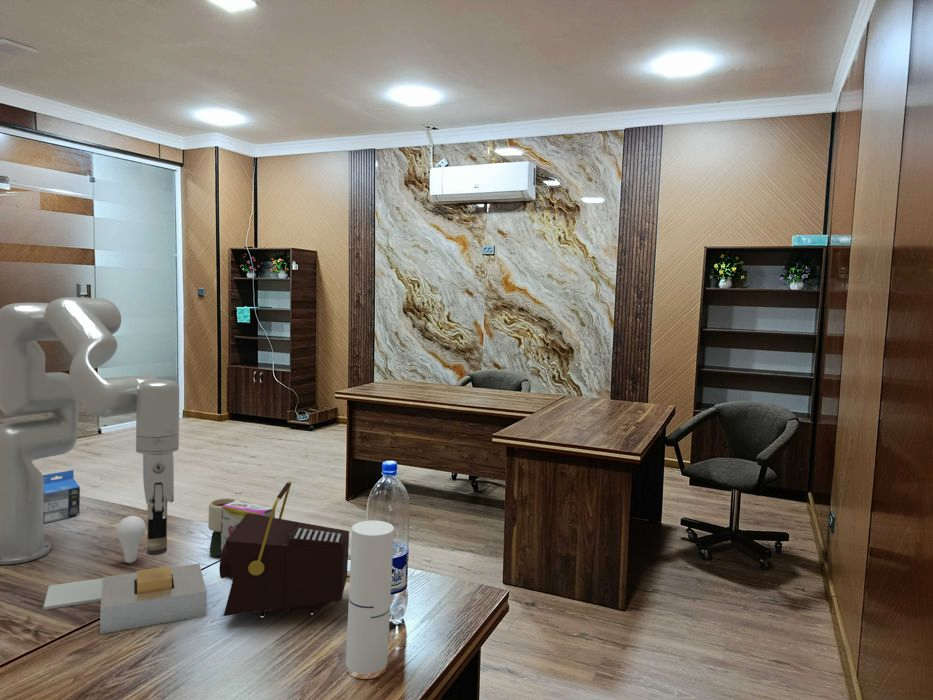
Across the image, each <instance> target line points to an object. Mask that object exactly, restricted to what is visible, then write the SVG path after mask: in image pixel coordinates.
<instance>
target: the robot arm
mask: <svg viewBox="0 0 933 700" xmlns="http://www.w3.org/2000/svg"><path fill="white" fill-rule="evenodd" d="M121 325H122V314H121V311H120V309H119V307H117V305H116V304H115V303H114V302H113V301H111V300H110V299H109V300H108V299H106V298H101V297H100V298H98V297H81V296H80V297H73V296H65V297H61V298H60V297H59V298H57V299H54V300H52V301H50V302H49V303H48V302H16V303H15V302H14V303H10V304H6V305H4V306H3V307H1V308H0V410H1V412H2V413H3V414H5V415H8V416H12V417H13V416H14V417H16V416H17V417H20V416H31V415H39V414H40V415H41V414H47V413H48V416H45V417H38V418H29V419H28V418H27V419H20V420H13V421H8V422H5V423H2V424H0V565H2V566H3V565H4V566H5V565H15V564H21V563H23V564H24V563H26V562H31V561H35V560H37V559H39V558H41V557H44V556H46V555H48V554H49V552H50V551H51V550H52V544H51V543H50V541H47V540H44V523H43V500H44V479H43V476H42V475H43V474H42V472H41V471H40V470H39V469H38V468H37V467H36V465H34V463H33V461H35V460H39V459H45V458H49V457H55V456H60V455H64V454H66V453H69V452H71V450H73V449H74V447H75V446H76V443H77V438H78V431H79V430H78V427H79V413H80V410H79V409H80V403H81V404H82V406H83V407H84V408H85V409H86V410H87V411H88V412H89V413H90V414H93V415H94V416H96V417H100V418H101V417H102V418H109V417H110V418H111V417H117V416H125V415H132V414H136V415H135V416H136V418H135V419H136V420H135V423H136V427H135V429H136V430H135V431H136V432H135V435H136V436H135V443H136V445H135V452H136V453H137V454H141V455H142V474H143V475H142V479H143V491H144V497H145V502H146V505H147V506H148V505H150V518H149V519H148V539H157V538H164V537H166V530H167V531H168V516H167V517H166V500H167V503H168V502H169V503H170V504H171V503H173V502H174V500H175V488H174V487H175V485H174V484H175V482H174V481H175V479H174V477H175V475H174V474H175V473H174V471H175V470H174V469H175V467H174V465H175V463H174V461H175V459H174V452H177V451H179V449H180V445H179V443H180V442H179V441H180V440H179V438H180V385H179V384H178V382H176V381H175V380H171V379H160V378H157V377H155V376H151V375H132V376H131V375H130V376H129V375H127V376H126V375H125V376H115V377H105V378H104V377H102V376H101V375H100V374H99V373H98V371H96V370H95V369H97V368H98V367H101V366H102V365H104V364H106V363H107V362H109V361H110V360H111V359H112V358H113V356H114V355H115V354H116V352H117V349H118V341H117V339H116V337H115V336H114V334H115V333H117V332H118V331H119V329H120V328H121ZM40 341H49V342H50V341H52V342H53V341H59V342H60V343H61V344H62V346H64V348H65V349H66V350H67V351H68V353H69V354H70V355H71V357H72V358H73V359H72V361H71V364H70V365H69V373H66V372H61V371H57V372H46V354H45V352H44V350H43V348H42V347H41V346H40V344H39V343H38V342H40ZM154 490H155V491H154ZM162 499H163V501H162ZM152 500H155V502H152ZM153 506H155V508H153Z"/></svg>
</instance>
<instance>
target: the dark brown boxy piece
mask: <svg viewBox="0 0 933 700" xmlns="http://www.w3.org/2000/svg"><path fill="white" fill-rule="evenodd" d="M291 486H292V481H290V480H289V481H288V482H286V483H285V485H284V486H283V487H282V488H281V490H280V492H279V493H278V495H277V496H276V499H275V501H274V502H273V505H272V511H271V515H270V517H267V516H261V515H256V514H250V513H247V514H246V515H245V517H244V518H243V519H242V520H241V522H240V523H239V524H238V526H237V527H236V528H235V529H234V531H233V532H232V533H231V534H230V536H229V537H228V538H227V540H226V543H225V545H224V547H223V550H222V553H221V556H220V559H219V568H218V569H219V576H220V577H219V578H220V579H225V578H230V576H232V578H231V585H230V589H229V592H228V596H227V601H226V604H225V607H224V611H223V615H222V617H226V616H227V617H228V616H234V615H243V614H251V613H258V612H259V617H260V616H264V615H266V612H271V611H273V612H274V611H275V612H278V611H279V612H280V611H281V612H283V611H309V614H310V613H314V614H315V611H321V610H322V609H324V608H325V607H326V606H328V605H329V604H331V603H337V602H342V599H343V596H344V590H345V586H346V581H347V578H348V566H349V547H350V546H349V545H350V543H349V542H350V531H349V530H345V529H340V528H335V527H328V526H323V525H317V524H311V523H307V522H306V523H304V522H300V521H299V522H298V521H296V520H295V521H294V520H289V519H285V518H284V519H283V513H284V510H285V506H286V504H287V499H288V497H289V491H290V490H291ZM283 497H284V498H283ZM282 498H283V501H282V506H281V509H280V512H279V517H278V518H277V517H275V518H273V515H274V512H275V513H276V509H277V505H278V503H279V501H280V500H281V499H282ZM264 617H265V616H264Z"/></svg>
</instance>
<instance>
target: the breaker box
mask: <svg viewBox="0 0 933 700" xmlns="http://www.w3.org/2000/svg"><path fill="white" fill-rule="evenodd" d="M170 569H171V575H172V589H168V590H162V591H155V592H149V593H142V594H137V571H136V572H130V573H123V574H114V575H109V576H103V577H102V578H103V584H102V596H101V601H100V608H99V609H100V613H99V615H100V616H99V619H100V620H99V622H100V623H99V635H104V634H103V633H106V634H109V633H108V632H112V633H115V632H114V631H117V632H122V631H121V630H123V631H127V630H126V629H129V630H133V629H139V627H140V628H145V626H146V627H149V626H150V625H151V626H155V625H154V624H157V625H160V624H159V623H162V624H166V623H165V622H168V623H172V622H171V621H174V622H178V621H177V620H179V621H182V620H181V619H185V620H189V619H188V618H191V619H195V618H194V617H196V618H200V617H199V616H202V617H205V616H204V615H206V616H207V593H208V592H207V588H206V584H205V579H204V576H203V572H202V568H201V565H200V563H195V564H188V565H187V564H186V565H180V566H173V567H170ZM132 628H133V629H132ZM119 630H120V631H119Z"/></svg>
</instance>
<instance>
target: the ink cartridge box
mask: <svg viewBox="0 0 933 700" xmlns="http://www.w3.org/2000/svg"><path fill="white" fill-rule="evenodd" d="M42 476H43V479H44V500H43V525H44V524H49V523H52V522H57V521H62V520H65V519H70V518H75V517H78V516H80V505H81V503H80V499H81V494H80V493H81V486H80V485H79V483H78V482H77V481H76V480H75V479H74V477H75V476H74V469H70V470H66V471H59V472H54V473H48V474H42ZM56 477H58V478H57V479H55V478H56ZM60 477H61V478H60ZM53 478H54V479H53Z"/></svg>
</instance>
